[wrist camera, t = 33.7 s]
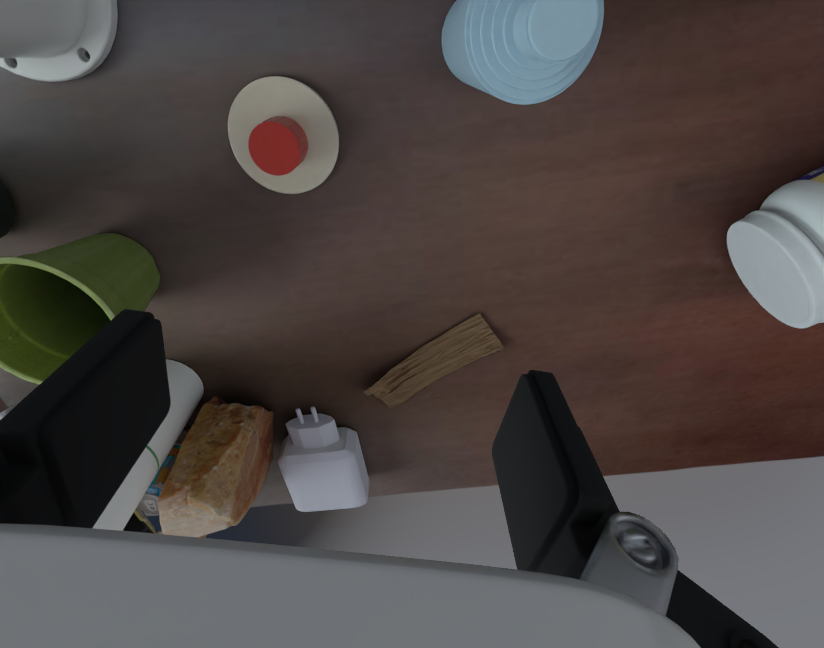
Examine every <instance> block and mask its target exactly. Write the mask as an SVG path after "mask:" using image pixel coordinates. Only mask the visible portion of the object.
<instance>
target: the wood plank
mask: <svg viewBox="0 0 824 648" xmlns="http://www.w3.org/2000/svg"><path fill="white" fill-rule="evenodd" d="M503 348H504V347H503V346H502V344H501V342H500V341H499V339H498V338H497V337H496V335H495V334H494V333H493V331H492V330H491V328H490V326H489V325H488V324H487V323H486V321H485V320H484V318H483V317H482V316H481V314H480V313H478V314H477V315H475V316H473V317H471V318H470V319H468V320H466V321H464V322H462V323H461V324H459V325H457V326H456V327H454V328H453V329H451V330H449V331H447V332H446V333H444V334H443V335H441V336H440V337H438V338H436V339H435V340H433V341H431V342H429V343H428V344H426V345H424V346H423V347H421V348H419V349H418V350H417V351H416V352H414V353H413V354H412V355H411V356H409V357H408V358H406V359H405V360H404V361H402V362H401V363H399V364H398V365H396V366H395V367H394V368H392V369H391V370H389V371H388V372H387V373H386V375H385V376H383V377H382V378H381V379H380V380H379V381H377V382H376V383H375V384H374V385H373V386H372V387H370V388H368V389H367V390H365V391H363V392H364V393H365V394H366V395H371V394H373V395H374V396H376V397H377V398H379V399H380V400H382V401H383V402H384V403H385V404H386V405H387V406H388V407H389V408H393V407H395V406H397V405H399V404H401V403H403V402H405V401H407V400H408V399H409V398H411V397H412V396H413V395H415V394H416V393H418V392H419V391H421V390H422V389H424V388H425V387H427V386H428V385H429V384H431V383H433V382H434V381H436V380H438V379H440V378H441V377H443V376H445V375H447V374H449V373H451V372H453V371H455V370H457V369H459V368H461V367H463V366H465V365H467V364H469V363H471V362H473V361H475V360H477V359H479V358H481V357H483V356H488V355H490V354H493V353H495V352H498V351H499V350H502V349H503Z"/></svg>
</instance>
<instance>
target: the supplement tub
mask: <svg viewBox="0 0 824 648" xmlns="http://www.w3.org/2000/svg"><path fill="white" fill-rule="evenodd" d="M727 247H728V252H729V255H730V258H731V261H732V263H733V266H734V268H735V270H736V272H737V274H738V275H739V277H740V279H741V280H742V282H743V284H744V285H745V286H746V288H747V289H748V290H749V292H750V293H751V294H752V296H753V297H754V298H755V299H756V300H757V301H758V302H759V304H760V305H761V306H762V307H764V308H765V309H766V310H767V311H768V312H769V313H770V314H771V315H773V316H774V317H775V318H777V319H778V320H780V321H781V322H783V323H785V324H787V325H789V326H792V327H795V328H807V327H810V326H812V325H815V324H817V323H823V322H824V166H822V167H820V168H818V169H816V170H814V171H812V172H810V173H808V174H806V175H804V176H802V177H800V178H798V179H796V180H794V181H792V182H790V183H788V184H785V185H783V186H782V187H780V188H779V189H777V190H775V191H774V192H773V193H772V194H770V195H769V196H768V197H767V198H766V200H765V201H764V202H763V204H762V205H761V207H760V209H759V210H757V211H753V212H751V213H749V214H748V215H746V216H745V218H743V219H741V220H739V221H737V222H735V223H734V224H732V225H731V226H730V228H729V230H728V232H727Z"/></svg>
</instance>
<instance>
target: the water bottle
mask: <svg viewBox="0 0 824 648" xmlns="http://www.w3.org/2000/svg"><path fill="white" fill-rule="evenodd" d="M603 16H604V0H456V1H455V3H454V4H453V5H452V7H451V8H450V10H449V12H448V14H447V16H446V19H445V21H444V25H443V29H442V41H441V42H442V51H443V55H444V59H445V61H446V63H447V66H448V67H449V69H450V71H451V72H452V73H453V74H454V75H455V76H456V77H457V78H458V79H459V80H461V81H462V82H464V83H466V84H468V85H470V86H472V87H475V88H477V89H479V90H481V91H483V92H486V93H488V94H490V95H492V96H494V97H497V98H499V99H501V100H503V101H506V102H509V103H513V104H520V105H529V104H535V103H540V102H543V101H546V100H548V99H551V98H553V97H555V96H556V95H558V94H560V93H561V92H563V91H564V90H565V89H567V88H568V87H569V86H570V85H571V84H572V83H573V82H574V81H575V80H576V79H577V78H578V77H579V76H580V75H581V73H582V72H583V71H584V69H585V68H586V66H587V65H588V63H589V62H590V60H591V58H592V56H593V54H594V52H595V49H596V47H597V44H598V41H599V38H600V35H601V30H602V25H603Z"/></svg>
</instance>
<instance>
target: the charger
mask: <svg viewBox="0 0 824 648" xmlns="http://www.w3.org/2000/svg"><path fill="white" fill-rule="evenodd" d="M310 409H311V412H312V414H311V415H302V413H301V410H300V409H299V408H297V409H296V413H297V416H298V417H297V418H295V419H292V420H290V421H289V422H287V423H286V427H287V430H288V433H289V435H288V436H287V437H286V438H285V439H284V440H283V443H282V446H281V449H280V452H279V455H278V459H277V463H278V465H279V468H280V470H281V473H282V475H283V477H284V480H285V482H286V485H287V487H288V490H289V492H290V495H291V497H292V500H293V502H294V504H295V507H296V509H297V510H299V511H303V512H309V511H320V510H332V509H344V508H354V507H359V506H362V505H364V504H365V503H367V501H368V489H369V478H368V474H367V470H366V466H365V462H364V458H363V454H362V450H361V446H360V443H359V439H358V435H357V432H356V431H354V430H351V429H349V428H346V427H339V428H337V427H336V424H335V420H334V419H333V418H332V417H331V416H328V415H325V414H317V412H316V409H315V407H311V408H310Z"/></svg>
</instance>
